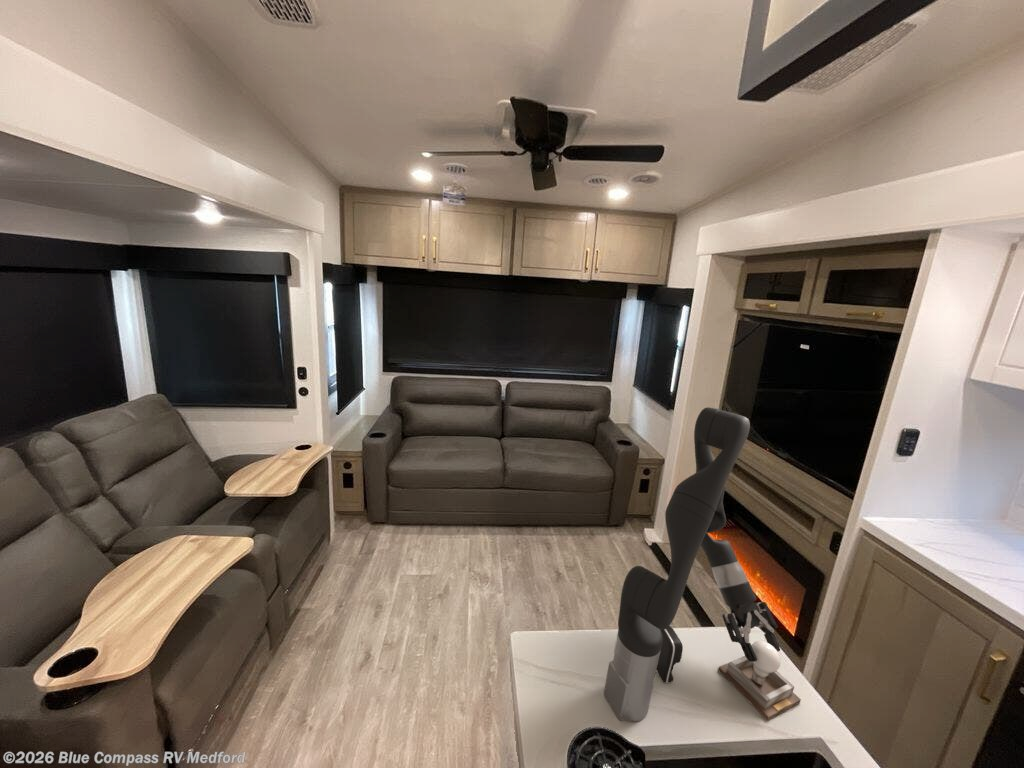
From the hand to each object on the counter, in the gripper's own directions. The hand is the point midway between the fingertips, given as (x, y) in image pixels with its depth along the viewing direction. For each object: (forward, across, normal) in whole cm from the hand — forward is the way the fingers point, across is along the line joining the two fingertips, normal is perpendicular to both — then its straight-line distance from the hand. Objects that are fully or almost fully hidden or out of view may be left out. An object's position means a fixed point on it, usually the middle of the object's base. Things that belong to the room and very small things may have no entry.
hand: (764, 656), depth 95 cm
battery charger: (-1, -20, +14) cm, 24 cm away
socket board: (+6, 0, +6) cm, 9 cm away
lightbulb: (+6, 0, +6) cm, 8 cm away
